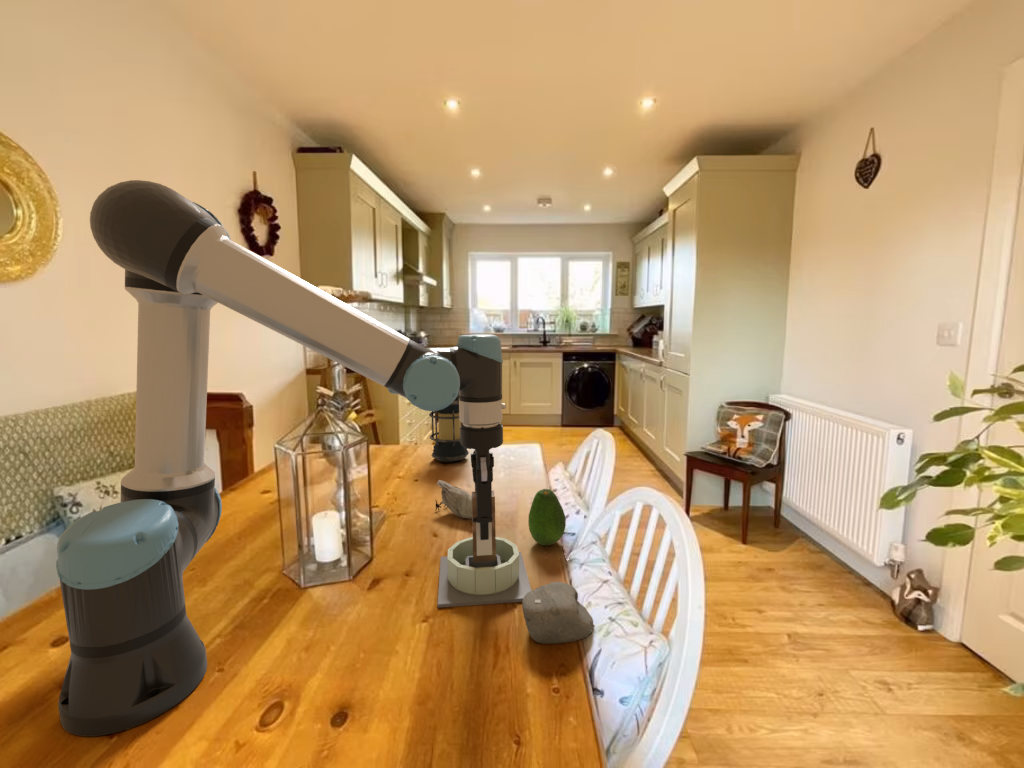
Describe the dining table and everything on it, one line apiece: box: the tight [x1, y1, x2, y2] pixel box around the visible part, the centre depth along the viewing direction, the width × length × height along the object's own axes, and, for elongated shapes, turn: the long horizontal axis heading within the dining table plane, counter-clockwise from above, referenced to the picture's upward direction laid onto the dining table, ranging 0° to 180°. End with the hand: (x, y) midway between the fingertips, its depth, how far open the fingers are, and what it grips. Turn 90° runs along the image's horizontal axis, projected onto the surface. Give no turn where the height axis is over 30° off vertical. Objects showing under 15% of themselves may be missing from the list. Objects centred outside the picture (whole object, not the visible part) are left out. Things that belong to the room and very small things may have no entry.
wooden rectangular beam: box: [471, 490, 497, 562], centre depth 87 cm, size 3×4×12 cm
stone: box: [521, 581, 595, 645], centre depth 74 cm, size 9×9×10 cm
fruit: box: [528, 488, 567, 546], centre depth 101 cm, size 8×8×12 cm
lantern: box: [428, 392, 470, 463], centre depth 159 cm, size 14×13×35 cm
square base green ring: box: [437, 536, 532, 608], centre depth 88 cm, size 16×16×5 cm
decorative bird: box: [434, 479, 472, 519], centre depth 116 cm, size 5×16×8 cm, turn 49°
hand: (483, 549), depth 88 cm, fingers closed on wooden rectangular beam, 3 cm apart
